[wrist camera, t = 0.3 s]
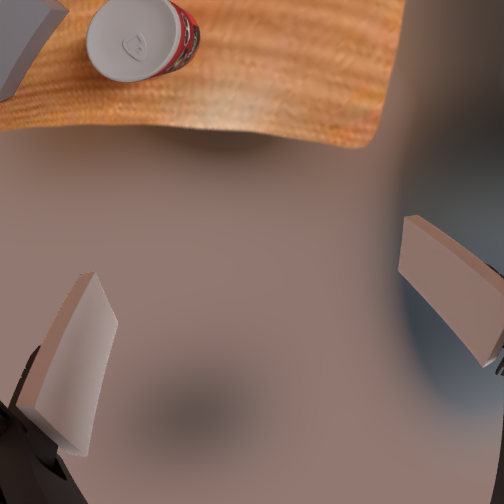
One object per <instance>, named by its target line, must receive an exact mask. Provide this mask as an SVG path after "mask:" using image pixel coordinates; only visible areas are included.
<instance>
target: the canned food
mask: <svg viewBox="0 0 504 504" xmlns="http://www.w3.org/2000/svg"><path fill="white" fill-rule="evenodd" d="M199 44H200V31H199V27H198V25H197V23H196V21H195V20H194V18H193V17H192V16H191V15H190V14H188V13H187V12H186V11H184V10H183V9H182V8H180V7H179V6H177V5H176V4H174V3H173V2H171V1H169V0H109V1H107V2H106V3H105V4H104V5H103V6H102V7H100V9H99V10H98V11H97V12H96V14H95V15H94V17H93V18H92V20H91V22H90V25H89V27H88V30H87V36H86V49H87V53H88V57H89V59H90V61H91V63H92V65H93V66H94V67H95V69H96V70H97V71H98V72H99V73H101V74H102V75H103V76H105V77H107V78H109V79H111V80H115V81H118V82H135V81H141V80H145V79H148V78H152V77H155V76H158V75H162V74H166V73H169V72H173V71H176V70H178V69H180V68H182V67H184V66H185V65H186V64H188V63H189V62H190V61H191V60H192V59H193V57H194V56H195V54H196V52H197V50H198V48H199Z"/></svg>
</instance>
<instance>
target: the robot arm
mask: <svg viewBox="0 0 504 504" xmlns="http://www.w3.org/2000/svg"><path fill="white" fill-rule="evenodd" d="M398 271H399V272H400V273H401V274H402V275H403V276H404V277H405V278H406V279H407V280H408V281H409V282H410V283H411V284H412V286H413V287H414V288H415V289H416V290H417V291H418V292H419V293H420V294H421V295H422V296H423V297H424V298H425V300H426V301H427V302H428V303H429V304H430V305H431V306H432V307H433V308H434V309H435V310H436V312H437V313H438V314H439V315H440V316H441V317H442V318H443V320H444V321H445V322H446V323H447V324H448V325H449V326H450V328H451V329H452V330H453V331H454V332H455V333H456V335H457V336H458V337H459V338H460V339H461V340H462V342H463V343H464V344H465V345H466V347H467V348H468V349H469V350H470V352H471V353H472V354H473V355H474V356H475V358H476V359H477V360H478V362H479V363H480V364H481V365H482V367H485V366H486V365H488V364H490V363H491V362H493V361H494V360H496V358H497V357H498V355H499V353H500V351H501V349H502V348H504V276H502V275H501V274H499V272H498V271H496V270H495V269H494V268H493V267H491V266H490V265H488V264H486V263H484V262H482V261H481V260H480V259H479V258H477V257H476V256H475V255H473V254H472V253H471V252H469V251H468V250H467V249H465V248H464V247H463V246H461V245H460V244H459V243H457V242H456V241H455V240H453V239H452V238H451V237H449V236H448V235H446V234H445V233H443V232H442V231H441V230H439V229H438V228H436V227H435V226H433V225H432V224H430V223H429V222H428V221H426V220H425V219H423V218H422V217H420V216H418V215H413V216H407V217H404V227H403V237H402V246H401V253H400V261H399V268H398ZM117 327H118V321H117V319H116V317H115V315H114V313H113V311H112V309H111V307H110V305H109V302H108V300H107V298H106V295H105V293H104V291H103V289H102V286H101V284H100V282H99V279H98V277H97V274H96V272H90V273H85V274H80V276H79V277H78V279H77V281H76V282H75V284H74V286H73V287H72V289H71V291H70V292H69V294H68V296H67V298H66V300H65V301H64V303H63V305H62V307H61V308H60V310H59V312H58V314H57V316H56V318H55V320H54V322H53V323H52V325H51V327H50V329H49V331H48V333H47V335H46V337H45V339H44V341H43V343H42V345H41V346H38V348H37V349H36V350H35V351H34V352H33V353H32V355H31V356H30V358H29V360H28V362H27V364H26V369H24V371H23V373H22V375H21V376H22V378H20V380H19V382H18V384H17V387H16V389H15V392H14V394H13V397H12V399H11V401H10V404H9V407H8V408H7V407H6V406H5V405H4V404H3V403H2V402H1V401H0V504H88V503H87V501H86V500H85V498H84V496H83V495H82V493H81V492H80V490H79V488H78V487H77V485H76V483H75V482H74V480H73V478H72V476H71V475H70V473H69V471H68V469H67V467H66V466H65V464H64V462H63V460H62V459H61V457H60V456H59V455H58V454H57V449H58V446H59V447H60V448H61V449H63V450H64V451H65V452H66V453H68V454H70V455H77V456H86V457H87V454H88V448H89V442H90V437H91V431H92V426H93V421H94V416H95V412H96V407H97V402H98V398H99V394H100V389H101V385H102V381H103V377H104V373H105V369H106V365H107V362H108V357H109V354H110V351H111V347H112V344H113V340H114V337H115V333H116V330H117ZM502 367H504V357H503V359H502V361H501V363H500V364H499V366H498V368H497V369H496V373H495V374H496V375H497V374H498V373H499V371H500V370H501V368H502ZM501 375H503V376H504V370H503V372H502V373H501ZM490 504H504V416H503V431H502V441H501V449H500V457H499V463H498V469H497V475H496V480H495V485H494V490H493V495H492V498H491V503H490Z"/></svg>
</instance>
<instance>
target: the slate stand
mask: <svg viewBox="0 0 504 504" xmlns="http://www.w3.org/2000/svg"><path fill="white" fill-rule="evenodd" d="M68 12H69V10H68V9H66V8H65V7H64V6H63V5H62V4H61V3H60V2H58V1H57V0H0V101H3V100H5V99H8V98H10V97H13V95H14V93H15V91H16V90H17V88H18V86H19V84H20V82H21V81H22V79H23V77H24V75H25V74H26V72H27V70H28V69H29V67H30V66H31V64H32V62H33V61H34V59H35V58H36V56H37V55H38V53H39V52H40V50H41V49H42V47H43V46H44V44H45V43H46V41H47V40H48V39H49V37H50V36H51V34H52V33H53V32H54V30H55V29H56V28H57V26H58V25H59V24H60V22H61V21H62V20H63V19H64V17H65V16H66V15H67V14H68Z"/></svg>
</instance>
